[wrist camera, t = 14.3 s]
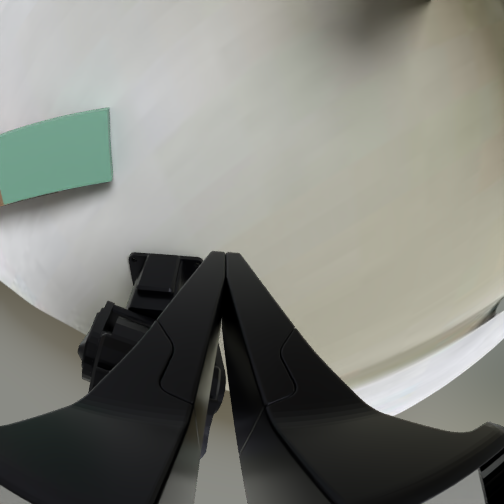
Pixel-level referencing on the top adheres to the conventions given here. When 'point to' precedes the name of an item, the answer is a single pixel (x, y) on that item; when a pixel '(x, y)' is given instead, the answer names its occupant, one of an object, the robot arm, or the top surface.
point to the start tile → (55, 155)
